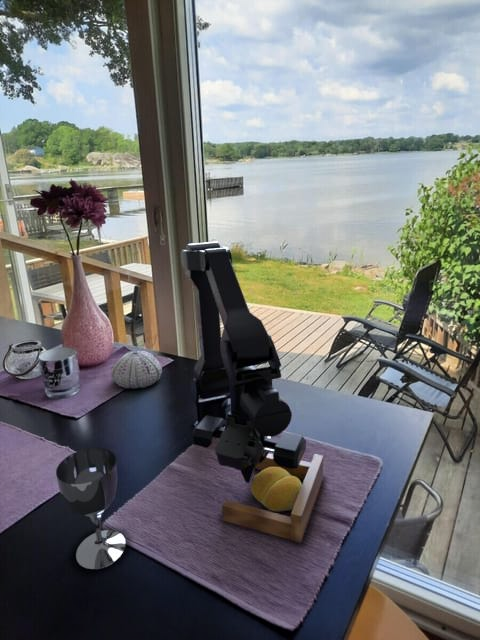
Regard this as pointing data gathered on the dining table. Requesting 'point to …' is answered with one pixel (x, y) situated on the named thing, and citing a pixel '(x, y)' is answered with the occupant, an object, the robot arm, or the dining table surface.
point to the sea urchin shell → (136, 370)
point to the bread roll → (276, 489)
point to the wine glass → (92, 502)
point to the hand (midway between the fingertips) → (248, 481)
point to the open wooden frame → (276, 522)
